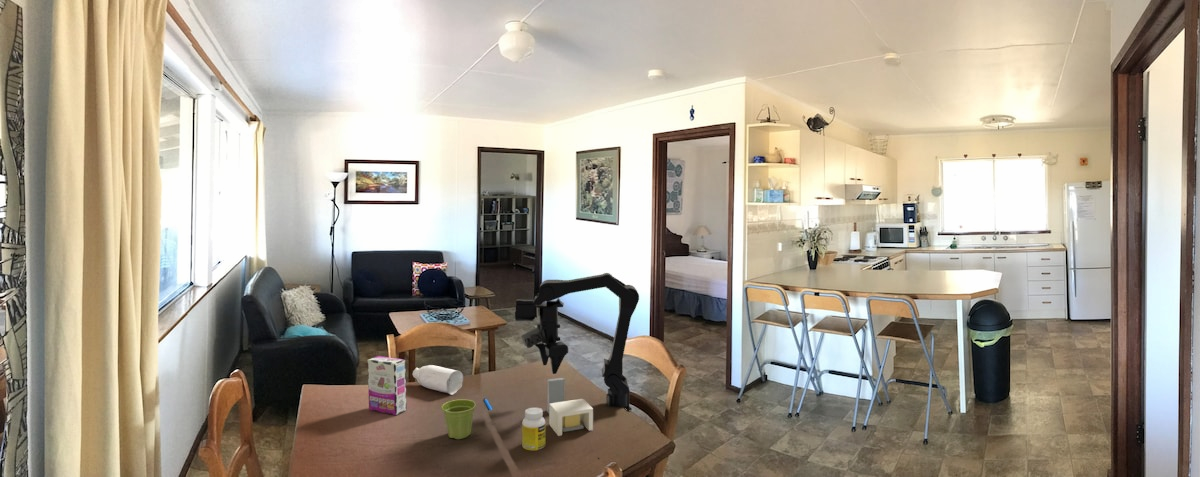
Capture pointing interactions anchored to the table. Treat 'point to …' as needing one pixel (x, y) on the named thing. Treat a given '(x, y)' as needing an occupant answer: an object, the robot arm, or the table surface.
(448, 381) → the white plastic bottle
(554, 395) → the bracket
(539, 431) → the pill bottle
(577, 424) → the block
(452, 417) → the plant pot
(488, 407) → the pen
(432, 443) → the table surface
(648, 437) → the table surface
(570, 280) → the robot arm
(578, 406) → the tunnel
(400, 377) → the candy bar box
